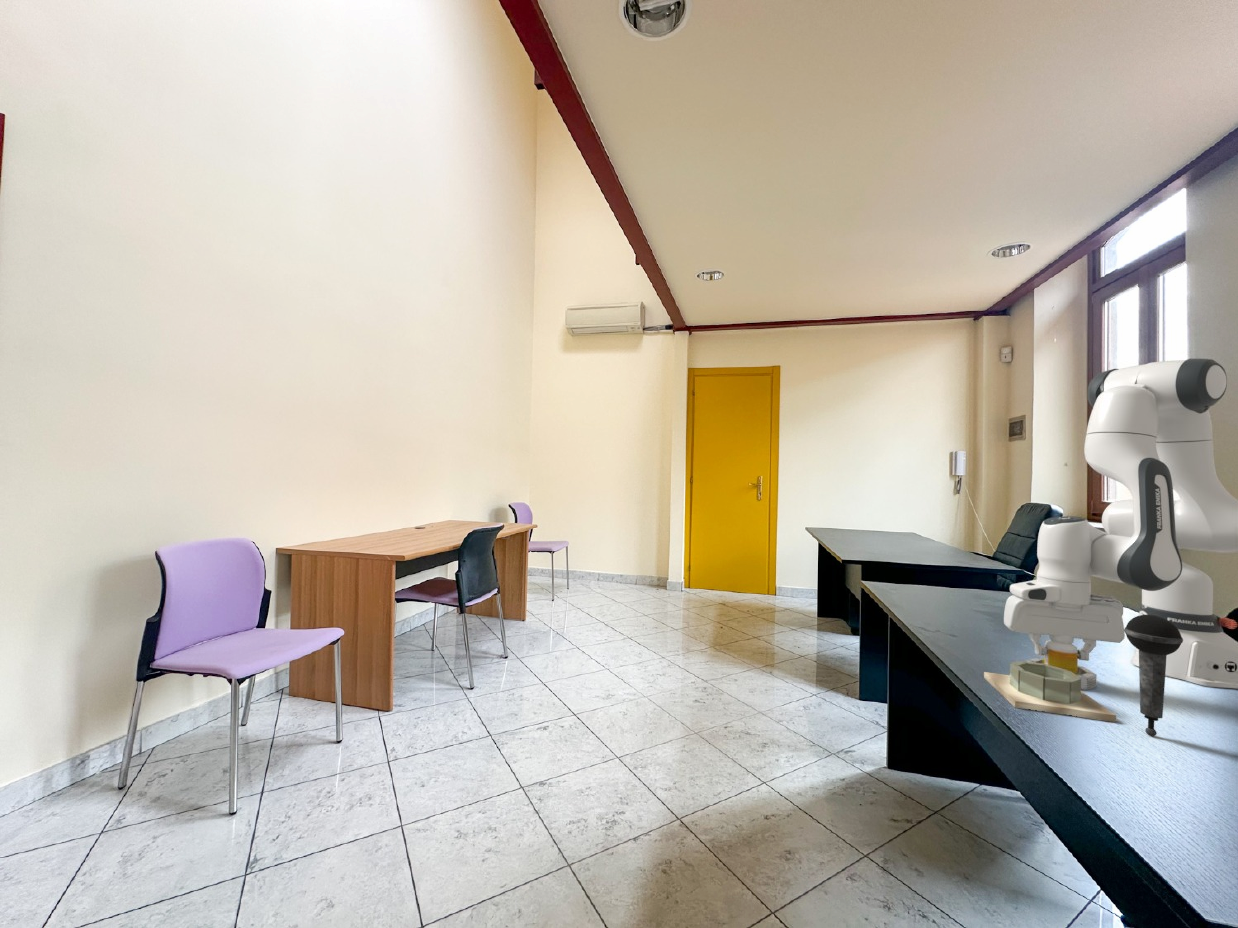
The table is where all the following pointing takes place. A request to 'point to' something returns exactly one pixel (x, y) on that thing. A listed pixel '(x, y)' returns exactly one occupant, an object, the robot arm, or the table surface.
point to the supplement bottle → (1061, 653)
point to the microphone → (1152, 661)
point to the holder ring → (1086, 675)
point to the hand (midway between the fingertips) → (1061, 656)
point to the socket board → (1047, 691)
